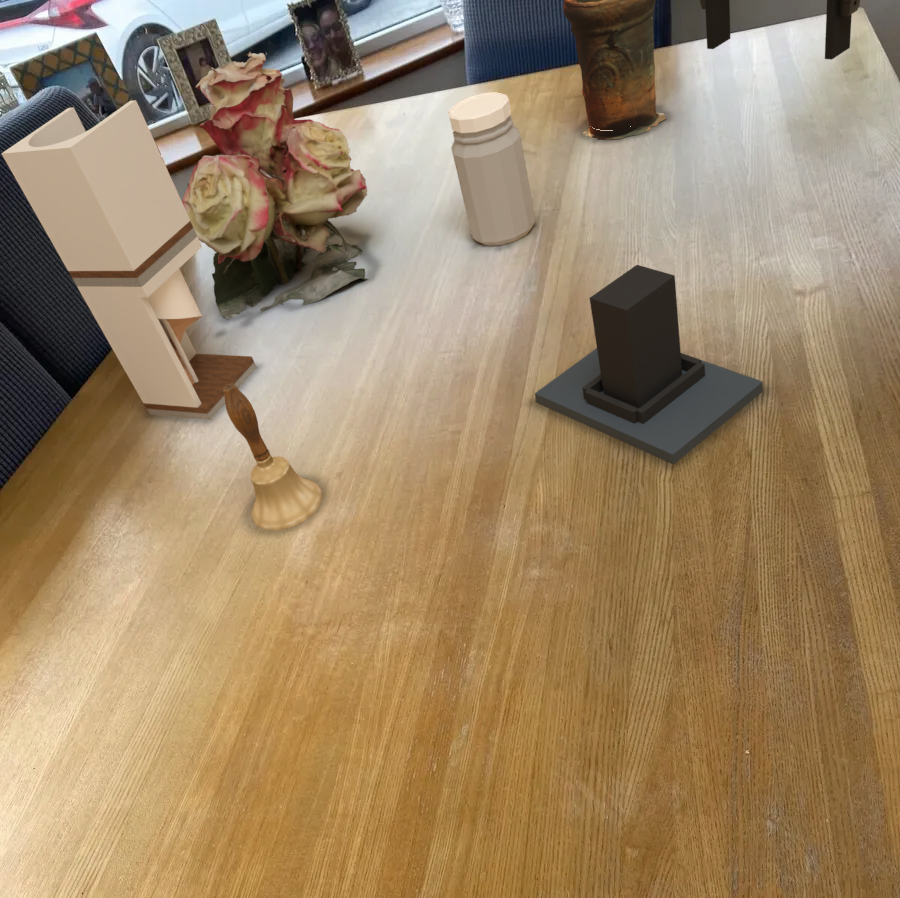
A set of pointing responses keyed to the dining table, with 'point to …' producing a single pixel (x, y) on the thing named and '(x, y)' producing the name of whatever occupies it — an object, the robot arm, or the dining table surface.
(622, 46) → the vessel
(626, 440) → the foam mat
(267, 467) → the hand bell
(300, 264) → the rose bouquet
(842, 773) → the dining table surface
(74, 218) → the coffee grinder
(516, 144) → the jar
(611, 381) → the pad block
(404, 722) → the dining table surface
